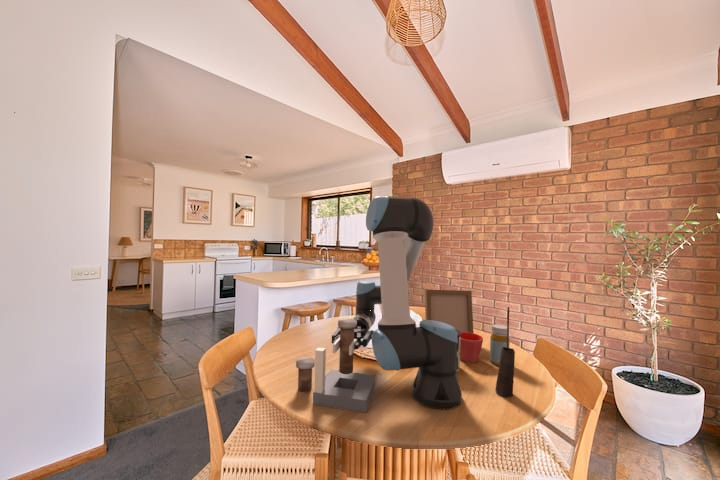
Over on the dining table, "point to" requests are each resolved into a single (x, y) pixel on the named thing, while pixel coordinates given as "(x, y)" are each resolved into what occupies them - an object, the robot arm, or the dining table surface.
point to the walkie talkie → (506, 368)
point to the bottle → (497, 342)
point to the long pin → (346, 344)
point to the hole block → (341, 387)
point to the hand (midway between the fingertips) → (342, 349)
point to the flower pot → (470, 347)
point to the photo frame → (450, 308)
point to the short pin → (305, 373)
